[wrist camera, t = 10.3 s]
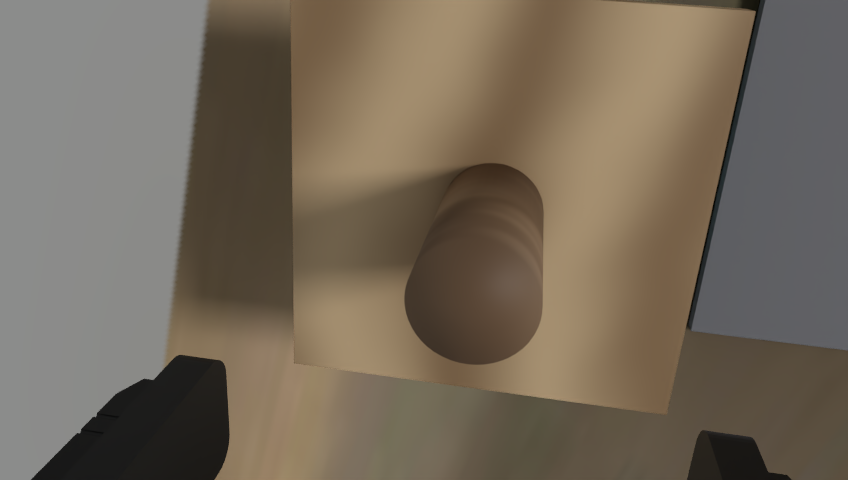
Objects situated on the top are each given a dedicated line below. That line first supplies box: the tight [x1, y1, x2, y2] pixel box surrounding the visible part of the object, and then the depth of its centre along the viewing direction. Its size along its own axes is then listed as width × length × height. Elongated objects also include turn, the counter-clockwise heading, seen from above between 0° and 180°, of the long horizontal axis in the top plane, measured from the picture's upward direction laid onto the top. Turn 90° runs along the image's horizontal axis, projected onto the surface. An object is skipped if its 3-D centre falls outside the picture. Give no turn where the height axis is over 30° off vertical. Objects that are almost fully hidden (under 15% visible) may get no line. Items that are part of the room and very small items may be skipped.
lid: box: [290, 0, 756, 415], centre depth 20 cm, size 13×13×8 cm
